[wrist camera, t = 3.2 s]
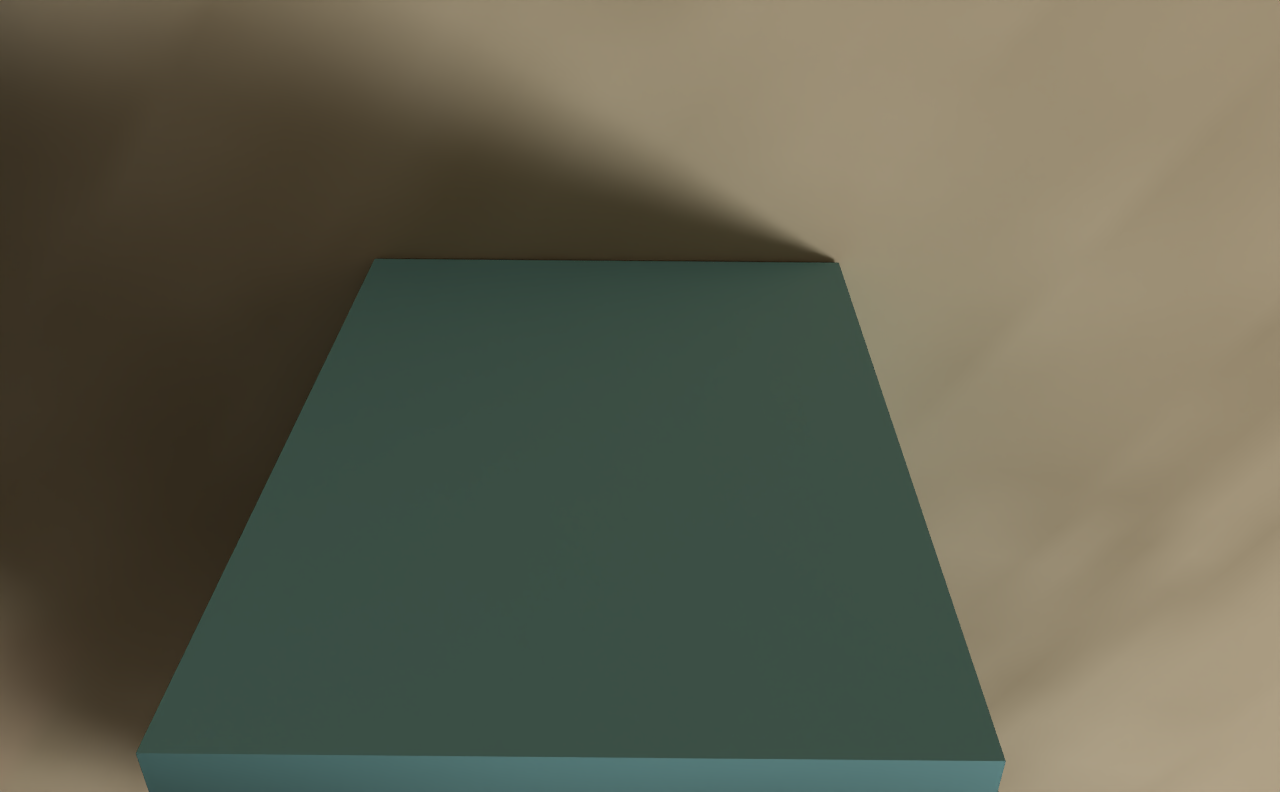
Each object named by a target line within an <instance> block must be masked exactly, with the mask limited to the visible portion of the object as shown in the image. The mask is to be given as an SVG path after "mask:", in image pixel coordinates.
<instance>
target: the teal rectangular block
mask: <svg viewBox="0 0 1280 792" xmlns="http://www.w3.org/2000/svg"><path fill="white" fill-rule="evenodd" d="M136 755H137V758H138V761H139V764H140V767H141V770H142V773H143V776H144V779H145V782H146V785H147V787H148V790H149V792H998V788H999V784H1000V781H1001V777H1002V773H1003V769H1004V765H1005V762H1006V761H1005V758H1004V755H1003V752H1002V749H1001V746H1000V743H999V740H998V737H997V734H996V731H995V728H994V725H993V722H992V719H991V716H990V713H989V710H988V707H987V704H986V701H985V698H984V695H983V692H982V689H981V686H980V683H979V680H978V677H977V674H976V671H975V668H974V665H973V662H972V659H971V656H970V653H969V651H968V648H967V645H966V642H965V639H964V636H963V633H962V630H961V627H960V624H959V621H958V618H957V615H956V612H955V609H954V606H953V603H952V600H951V597H950V594H949V591H948V588H947V585H946V582H945V579H944V576H943V573H942V570H941V567H940V564H939V561H938V558H937V555H936V552H935V549H934V546H933V543H932V540H931V537H930V534H929V531H928V528H927V525H926V522H925V519H924V516H923V513H922V510H921V507H920V504H919V501H918V498H917V495H916V492H915V489H914V486H913V483H912V480H911V477H910V474H909V471H908V468H907V465H906V462H905V459H904V456H903V453H902V450H901V447H900V444H899V442H898V439H897V436H896V433H895V430H894V427H893V424H892V421H891V418H890V415H889V412H888V409H887V406H886V403H885V400H884V397H883V394H882V391H881V388H880V385H879V382H878V379H877V376H876V373H875V370H874V367H873V364H872V361H871V358H870V355H869V352H868V349H867V346H866V343H865V340H864V337H863V334H862V331H861V328H860V325H859V322H858V319H857V316H856V313H855V310H854V307H853V304H852V301H851V298H850V295H849V292H848V289H847V286H846V283H845V280H844V277H843V274H842V271H841V268H840V265H839V263H810V262H691V261H572V260H453V259H374V261H373V263H372V265H371V268H370V270H369V272H368V274H367V276H366V278H365V280H364V282H363V284H362V286H361V288H360V290H359V292H358V294H357V297H356V299H355V301H354V303H353V305H352V307H351V309H350V311H349V313H348V315H347V317H346V319H345V321H344V323H343V326H342V328H341V330H340V332H339V334H338V336H337V338H336V340H335V342H334V344H333V346H332V348H331V350H330V352H329V355H328V357H327V359H326V361H325V363H324V365H323V367H322V369H321V371H320V373H319V375H318V377H317V379H316V381H315V383H314V386H313V388H312V390H311V392H310V394H309V396H308V398H307V400H306V402H305V404H304V406H303V408H302V410H301V412H300V415H299V417H298V419H297V421H296V423H295V425H294V427H293V429H292V431H291V433H290V435H289V437H288V439H287V441H286V444H285V446H284V448H283V450H282V452H281V454H280V456H279V458H278V460H277V462H276V464H275V466H274V468H273V470H272V473H271V475H270V477H269V479H268V481H267V483H266V485H265V487H264V489H263V491H262V493H261V495H260V497H259V499H258V502H257V504H256V506H255V508H254V510H253V512H252V514H251V516H250V518H249V520H248V522H247V524H246V526H245V528H244V530H243V533H242V535H241V537H240V539H239V541H238V543H237V545H236V547H235V549H234V551H233V553H232V555H231V557H230V559H229V562H228V564H227V566H226V568H225V570H224V572H223V574H222V576H221V578H220V580H219V582H218V584H217V586H216V588H215V591H214V593H213V595H212V597H211V599H210V601H209V603H208V605H207V607H206V609H205V611H204V613H203V615H202V617H201V620H200V622H199V624H198V626H197V628H196V630H195V632H194V634H193V636H192V638H191V640H190V642H189V644H188V646H187V648H186V651H185V653H184V655H183V657H182V659H181V661H180V663H179V665H178V667H177V669H176V671H175V673H174V675H173V677H172V680H171V682H170V684H169V686H168V688H167V690H166V692H165V694H164V696H163V698H162V700H161V702H160V704H159V706H158V709H157V711H156V713H155V715H154V717H153V719H152V721H151V723H150V725H149V727H148V729H147V731H146V733H145V735H144V738H143V740H142V742H141V744H140V746H139V748H138V750H137V752H136Z"/></svg>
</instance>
